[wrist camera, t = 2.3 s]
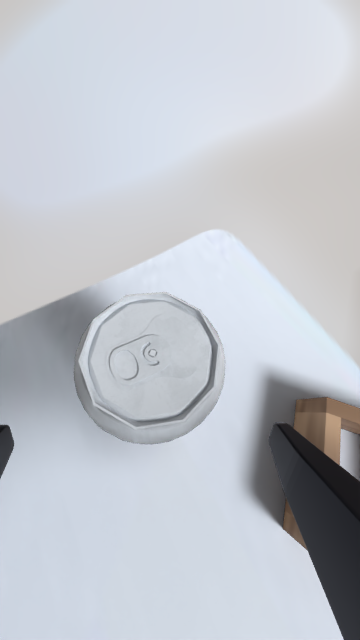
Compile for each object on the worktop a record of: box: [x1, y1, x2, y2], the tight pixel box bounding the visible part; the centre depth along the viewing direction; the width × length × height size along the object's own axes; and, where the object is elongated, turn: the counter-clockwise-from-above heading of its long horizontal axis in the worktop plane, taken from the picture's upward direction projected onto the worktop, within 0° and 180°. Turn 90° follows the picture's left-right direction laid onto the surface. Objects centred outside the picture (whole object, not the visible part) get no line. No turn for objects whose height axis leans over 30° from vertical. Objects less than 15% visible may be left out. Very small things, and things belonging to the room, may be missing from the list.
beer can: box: [74, 292, 225, 444], centre depth 12 cm, size 5×5×12 cm
